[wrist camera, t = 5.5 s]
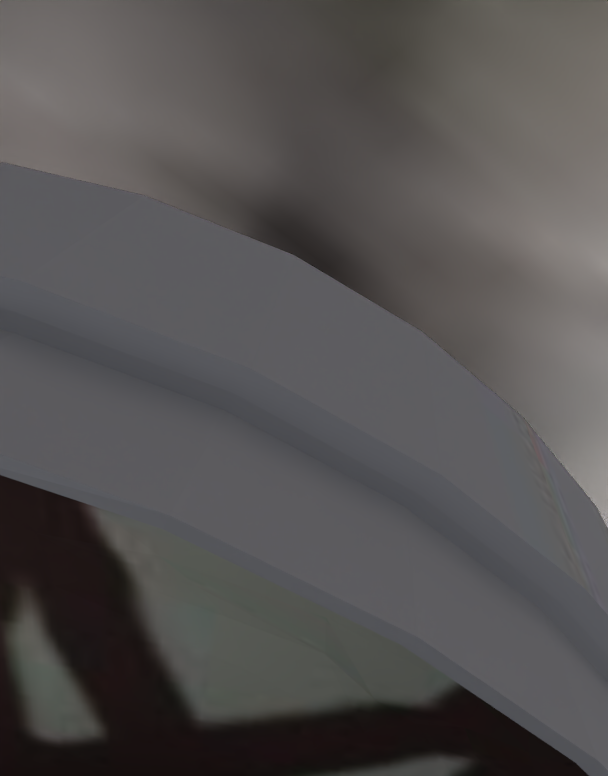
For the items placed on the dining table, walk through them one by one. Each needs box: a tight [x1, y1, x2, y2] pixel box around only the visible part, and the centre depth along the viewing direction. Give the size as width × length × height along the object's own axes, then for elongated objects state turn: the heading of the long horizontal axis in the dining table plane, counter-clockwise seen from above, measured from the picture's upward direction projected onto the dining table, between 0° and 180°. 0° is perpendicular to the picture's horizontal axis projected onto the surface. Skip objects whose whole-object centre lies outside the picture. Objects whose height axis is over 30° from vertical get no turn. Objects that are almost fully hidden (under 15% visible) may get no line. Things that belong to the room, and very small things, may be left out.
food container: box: [0, 162, 608, 776], centre depth 8 cm, size 12×6×10 cm, turn 172°
